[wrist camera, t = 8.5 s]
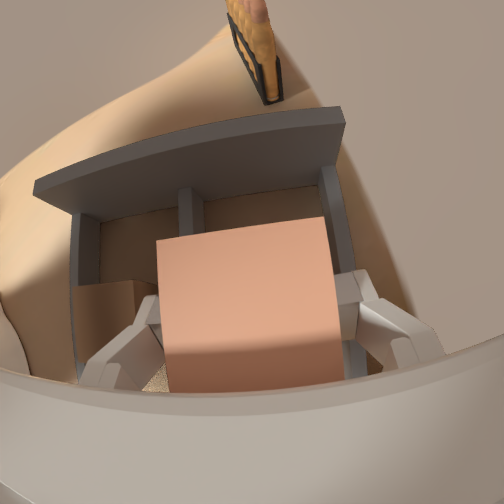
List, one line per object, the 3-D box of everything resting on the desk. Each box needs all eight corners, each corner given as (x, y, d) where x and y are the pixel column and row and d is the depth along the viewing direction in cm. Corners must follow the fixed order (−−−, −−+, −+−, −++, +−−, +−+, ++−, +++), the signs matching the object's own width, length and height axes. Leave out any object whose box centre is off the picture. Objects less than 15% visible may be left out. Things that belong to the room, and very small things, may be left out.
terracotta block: (237, 354, 18) (171, 404, 8) (229, 279, 19) (156, 240, 9) (314, 346, 18) (345, 393, 7) (305, 270, 19) (323, 216, 8)
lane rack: (103, 401, 20) (41, 424, 13) (93, 212, 24) (35, 180, 16) (359, 394, 18) (393, 436, 10) (327, 169, 22) (340, 106, 14)
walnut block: (124, 353, 21) (78, 362, 15) (118, 293, 22) (72, 286, 16) (178, 353, 21) (140, 365, 15) (172, 288, 22) (132, 279, 16)
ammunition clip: (284, 101, 24) (273, -10, 12) (264, 106, 24) (245, -4, 12) (250, 40, 26) (231, -46, 15) (234, 45, 26) (211, -41, 15)
